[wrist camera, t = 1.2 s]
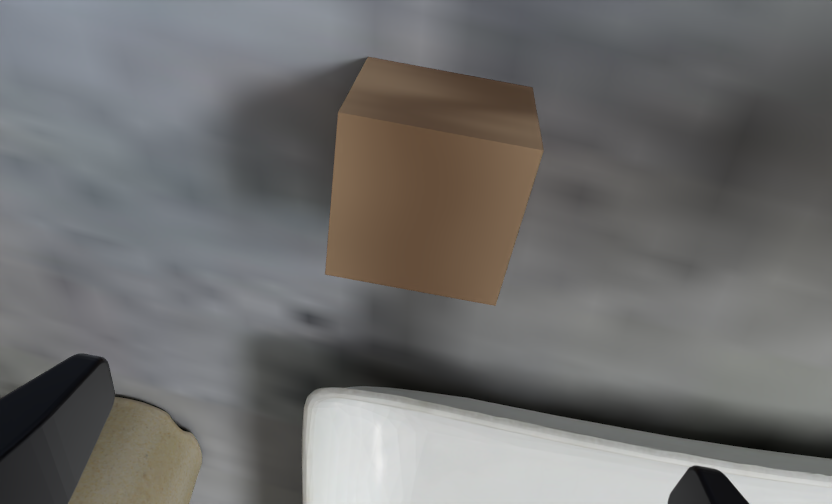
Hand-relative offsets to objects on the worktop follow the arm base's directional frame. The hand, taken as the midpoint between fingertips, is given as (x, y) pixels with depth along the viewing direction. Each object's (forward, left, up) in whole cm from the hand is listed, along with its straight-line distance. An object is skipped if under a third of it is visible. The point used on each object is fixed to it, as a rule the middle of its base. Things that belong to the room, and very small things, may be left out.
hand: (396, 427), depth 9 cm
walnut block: (0, 0, -10) cm, 10 cm away
